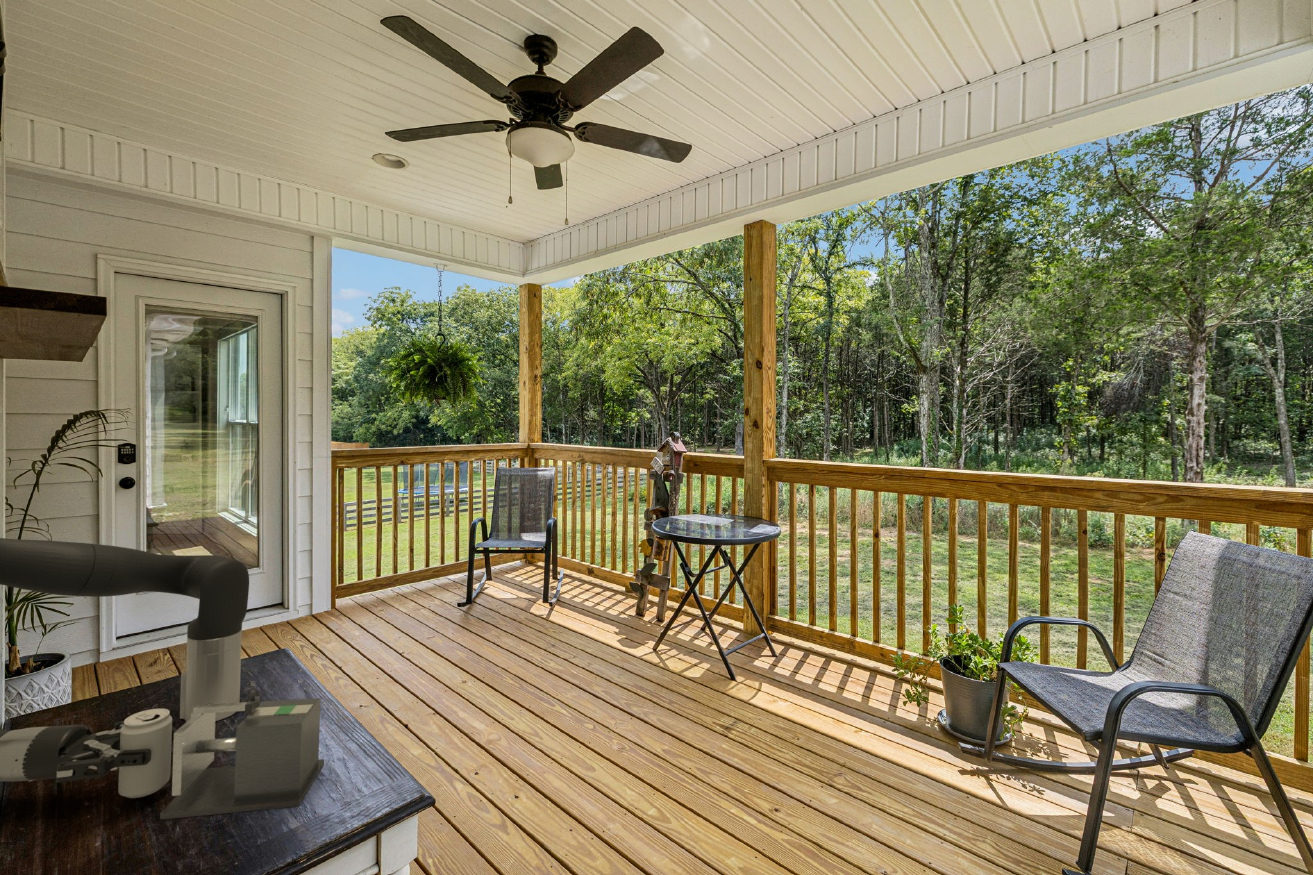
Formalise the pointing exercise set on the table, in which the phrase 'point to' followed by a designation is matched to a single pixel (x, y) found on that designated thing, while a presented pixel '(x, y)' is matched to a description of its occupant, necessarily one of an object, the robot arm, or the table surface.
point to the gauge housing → (260, 764)
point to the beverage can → (146, 734)
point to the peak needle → (252, 703)
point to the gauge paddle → (199, 744)
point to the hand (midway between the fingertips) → (162, 745)
